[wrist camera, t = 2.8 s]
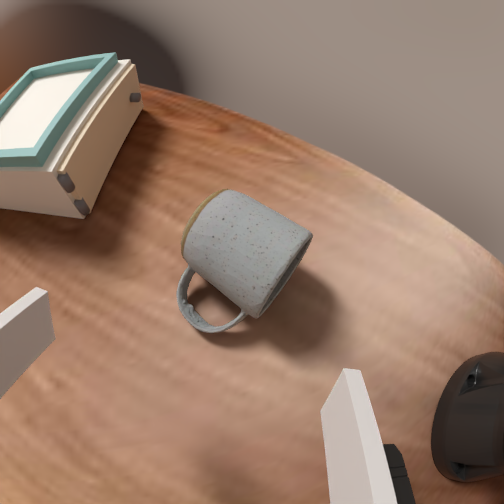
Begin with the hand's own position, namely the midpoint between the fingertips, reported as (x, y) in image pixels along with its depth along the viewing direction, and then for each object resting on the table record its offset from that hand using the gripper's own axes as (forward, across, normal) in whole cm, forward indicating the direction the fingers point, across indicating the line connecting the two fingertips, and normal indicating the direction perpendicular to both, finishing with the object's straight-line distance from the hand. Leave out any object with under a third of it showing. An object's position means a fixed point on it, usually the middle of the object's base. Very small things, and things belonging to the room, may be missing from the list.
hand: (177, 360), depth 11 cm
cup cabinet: (+22, -25, +5) cm, 34 cm away
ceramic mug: (+15, +1, -3) cm, 15 cm away
